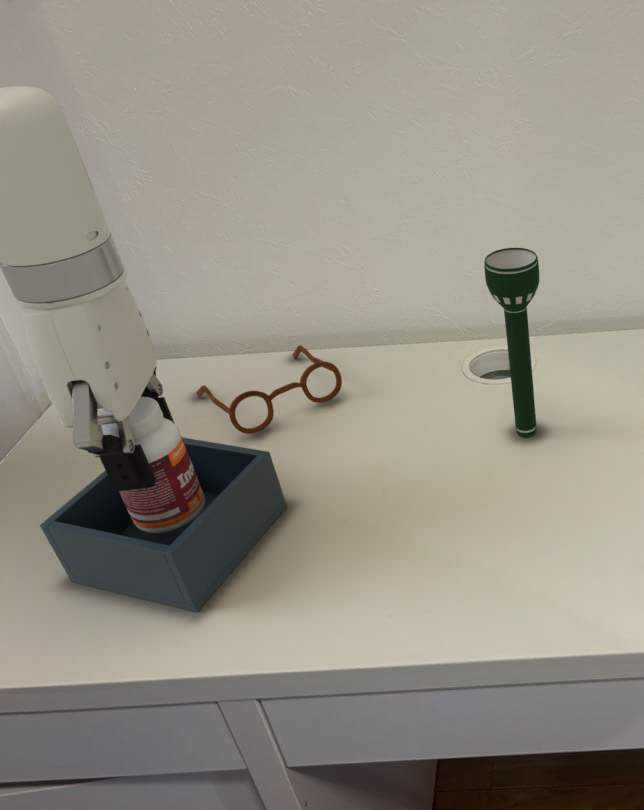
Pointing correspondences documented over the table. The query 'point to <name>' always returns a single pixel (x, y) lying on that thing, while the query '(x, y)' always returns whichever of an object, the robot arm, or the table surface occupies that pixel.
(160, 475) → the pill bottle
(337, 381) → the glasses
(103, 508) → the bin
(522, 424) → the flashlight
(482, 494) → the table surface
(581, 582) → the table surface
